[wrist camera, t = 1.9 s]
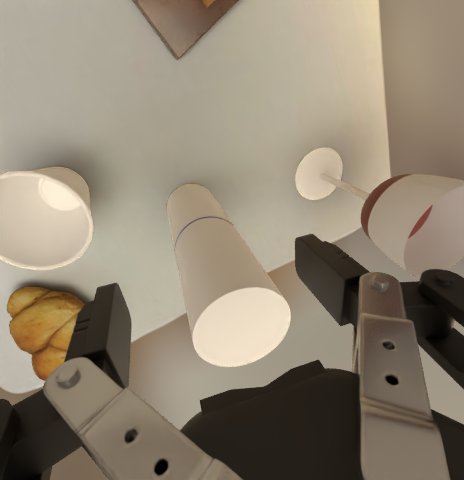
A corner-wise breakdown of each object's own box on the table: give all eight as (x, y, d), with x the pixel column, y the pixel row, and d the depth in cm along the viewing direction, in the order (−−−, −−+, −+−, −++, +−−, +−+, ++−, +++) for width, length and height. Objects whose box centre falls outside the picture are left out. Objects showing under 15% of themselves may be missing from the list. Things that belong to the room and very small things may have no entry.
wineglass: (355, 171, 46) (501, 225, 27) (311, 213, 47) (422, 292, 29) (328, 130, 42) (481, 160, 23) (281, 178, 43) (388, 243, 24)
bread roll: (-5, 294, 39) (-36, 337, 32) (60, 262, 40) (43, 298, 33) (59, 349, 46) (44, 393, 39) (114, 321, 46) (108, 360, 39)
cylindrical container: (210, 178, 40) (288, 274, 19) (219, 223, 44) (292, 348, 22) (160, 189, 39) (181, 306, 18) (173, 235, 42) (203, 378, 21)
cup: (-5, 171, 33) (-65, 201, 23) (75, 135, 34) (48, 151, 24) (52, 238, 38) (22, 286, 29) (121, 207, 39) (113, 243, 29)
